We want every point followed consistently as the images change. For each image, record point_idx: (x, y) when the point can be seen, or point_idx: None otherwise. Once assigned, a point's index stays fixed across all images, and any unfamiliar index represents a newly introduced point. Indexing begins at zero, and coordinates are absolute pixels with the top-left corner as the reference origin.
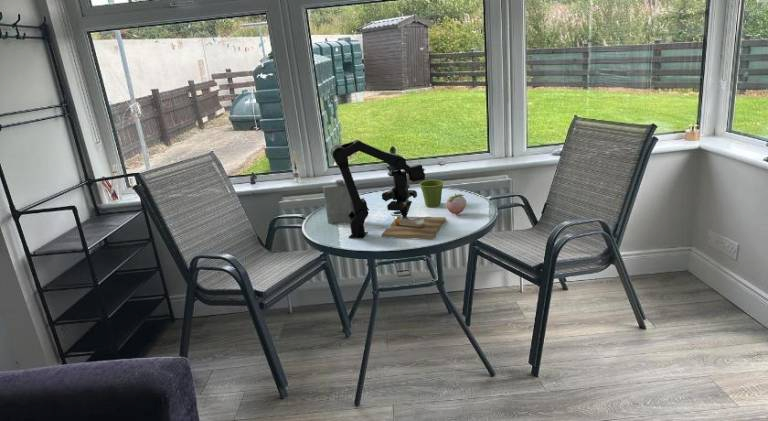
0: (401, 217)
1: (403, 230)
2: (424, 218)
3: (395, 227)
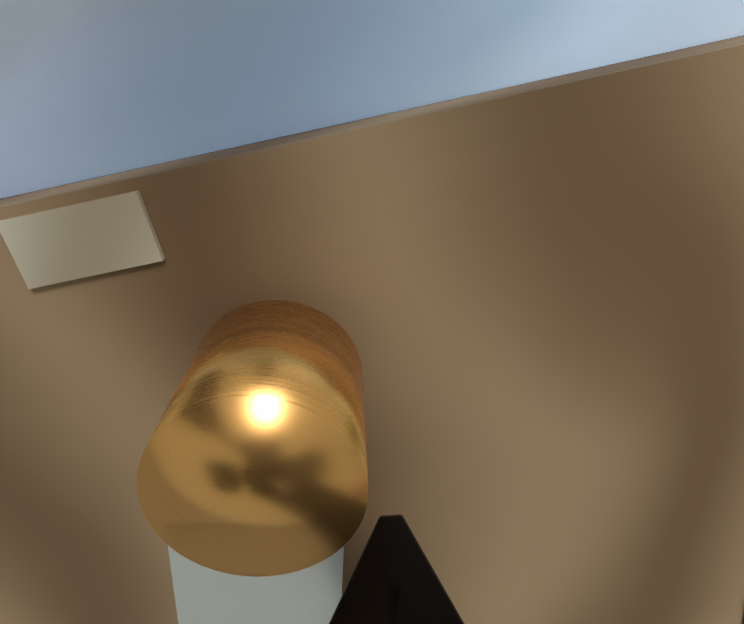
0: (255, 587)
1: (41, 580)
2: (706, 609)
3: (96, 381)
